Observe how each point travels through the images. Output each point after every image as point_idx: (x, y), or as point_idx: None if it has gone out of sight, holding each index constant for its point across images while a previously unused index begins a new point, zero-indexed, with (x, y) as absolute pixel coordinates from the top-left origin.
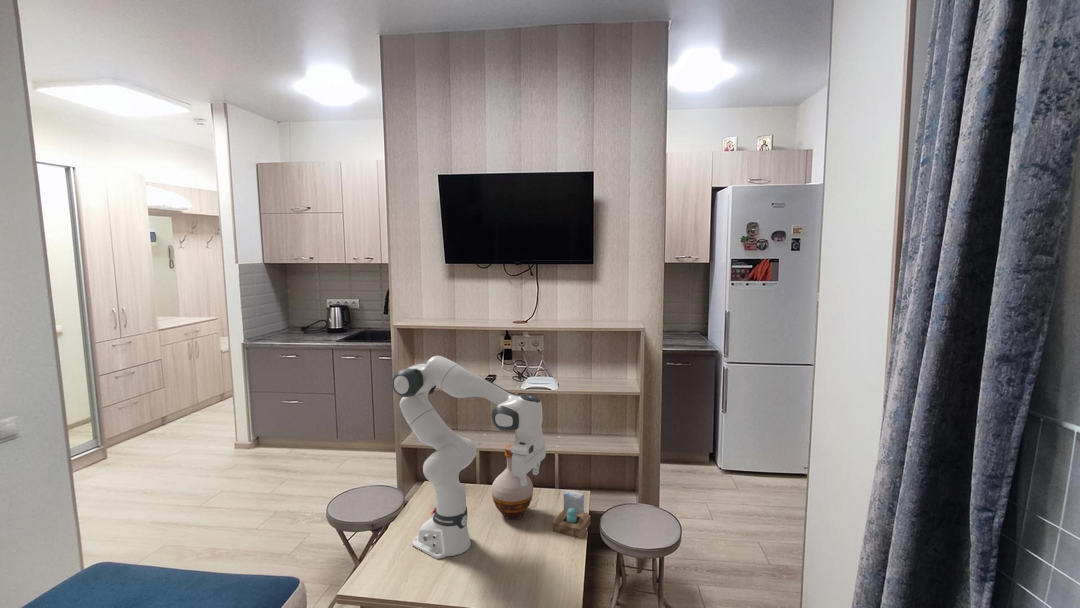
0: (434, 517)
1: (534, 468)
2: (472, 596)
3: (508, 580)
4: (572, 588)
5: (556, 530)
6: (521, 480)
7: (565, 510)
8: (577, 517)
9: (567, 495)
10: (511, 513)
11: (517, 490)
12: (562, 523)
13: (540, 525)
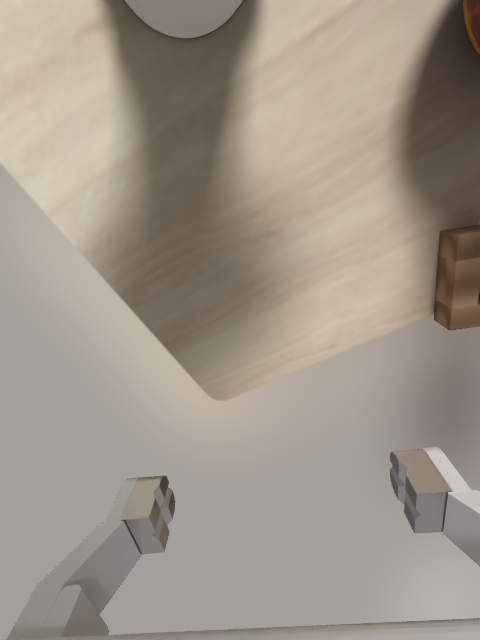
0: None
1: (453, 506)
2: (72, 229)
3: (173, 265)
4: (241, 389)
5: (442, 246)
6: (103, 532)
7: None
8: None
9: None
10: (468, 31)
11: None
12: (466, 266)
13: (462, 173)
